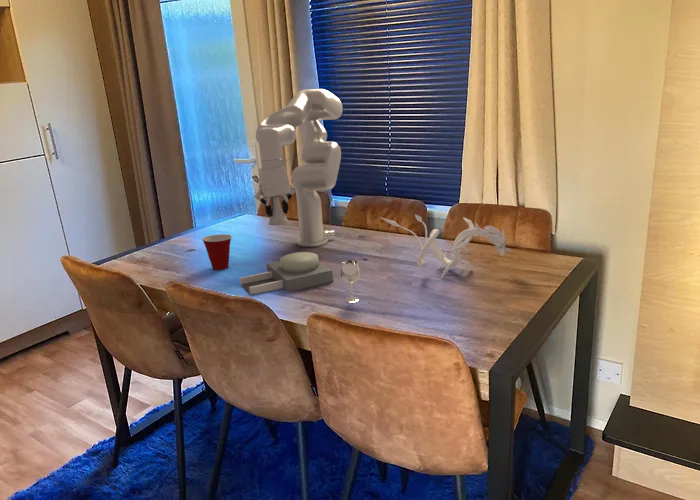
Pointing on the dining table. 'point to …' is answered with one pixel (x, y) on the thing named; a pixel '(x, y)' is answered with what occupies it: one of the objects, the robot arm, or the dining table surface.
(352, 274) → the wineglass
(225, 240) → the plastic cup
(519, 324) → the dining table surface
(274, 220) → the flask
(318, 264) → the two-pronged domed base
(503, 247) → the white dragon statue
